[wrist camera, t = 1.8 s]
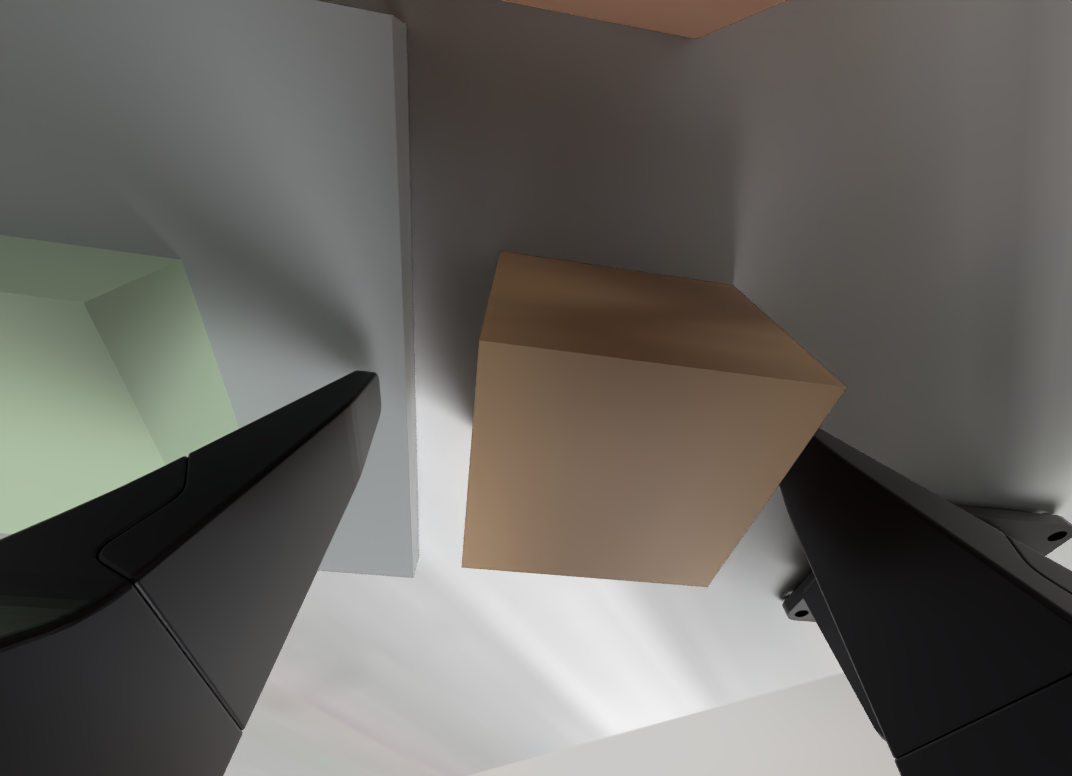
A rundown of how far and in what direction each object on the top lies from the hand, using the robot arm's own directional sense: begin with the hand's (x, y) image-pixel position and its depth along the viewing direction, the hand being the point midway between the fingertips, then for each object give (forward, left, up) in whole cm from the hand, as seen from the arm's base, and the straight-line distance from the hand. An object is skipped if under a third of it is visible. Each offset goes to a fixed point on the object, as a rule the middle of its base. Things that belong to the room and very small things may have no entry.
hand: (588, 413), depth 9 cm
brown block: (0, 0, -2) cm, 2 cm away
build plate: (+11, +1, -1) cm, 11 cm away
